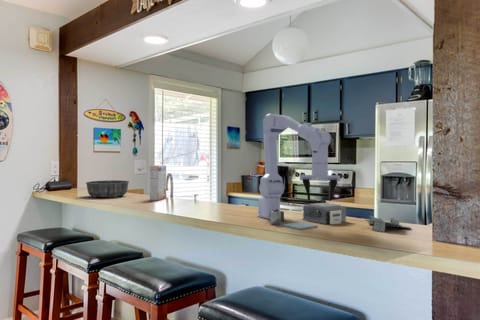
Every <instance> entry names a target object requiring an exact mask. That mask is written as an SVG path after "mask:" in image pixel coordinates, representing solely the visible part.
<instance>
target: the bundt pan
mask: <svg viewBox="0 0 480 320" xmlns="http://www.w3.org/2000/svg"><path fill="white" fill-rule="evenodd" d="M129 183H130V180H118V179H117V180H115V179H113V180H90V181H86V182H85V184H86V188H87V189H86V190H87V193H88V195H89V196H90V197H92V196H93V197H92V198H96V197H106V198H108V197H110V198H118V197H117V196H121V197H123V196H125V195H126V194H127V192H128V187H129Z"/></svg>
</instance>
